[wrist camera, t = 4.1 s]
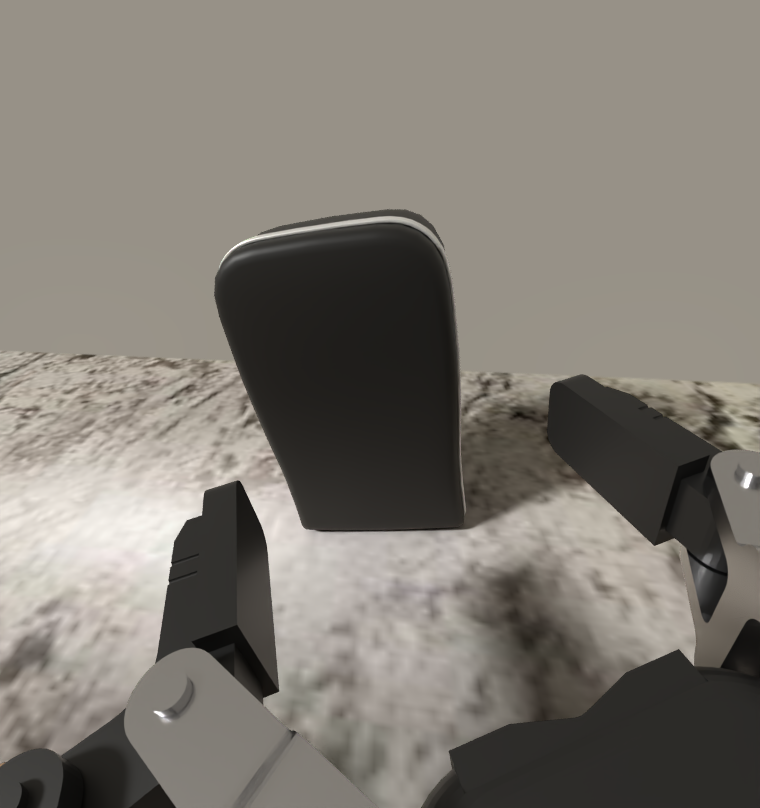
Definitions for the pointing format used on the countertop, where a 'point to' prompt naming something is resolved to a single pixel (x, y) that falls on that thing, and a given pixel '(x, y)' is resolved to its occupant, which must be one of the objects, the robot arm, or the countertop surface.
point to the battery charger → (352, 366)
